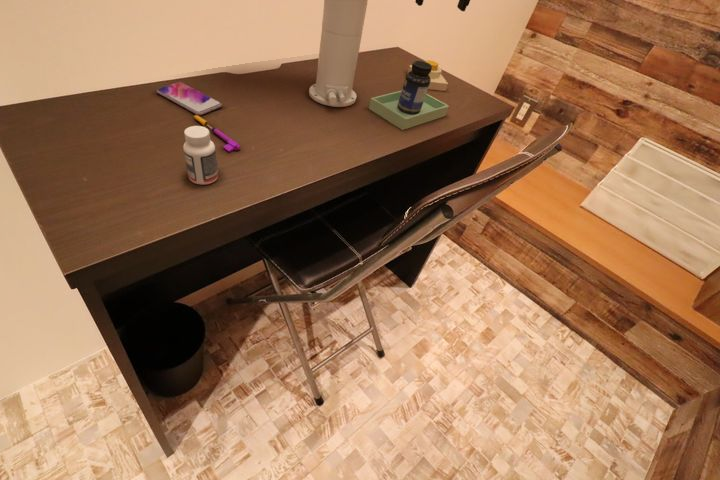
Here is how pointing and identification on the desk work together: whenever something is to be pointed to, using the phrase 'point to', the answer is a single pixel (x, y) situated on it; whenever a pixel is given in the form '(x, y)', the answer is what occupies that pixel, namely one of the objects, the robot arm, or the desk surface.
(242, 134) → the desk surface
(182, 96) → the smartphone
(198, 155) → the pill bottle
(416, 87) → the pill bottle
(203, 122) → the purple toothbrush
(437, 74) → the box
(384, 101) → the tray
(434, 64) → the button
